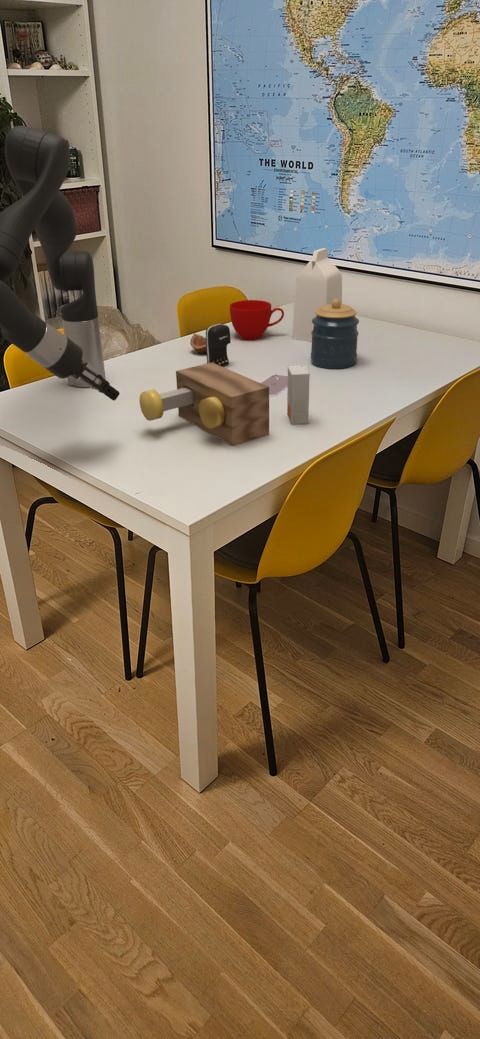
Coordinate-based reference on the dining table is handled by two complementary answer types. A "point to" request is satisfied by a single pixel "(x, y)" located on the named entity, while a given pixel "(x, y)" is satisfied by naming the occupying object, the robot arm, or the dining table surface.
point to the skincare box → (298, 394)
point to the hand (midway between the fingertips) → (115, 396)
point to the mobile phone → (276, 384)
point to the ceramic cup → (252, 318)
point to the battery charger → (217, 344)
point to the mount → (225, 403)
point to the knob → (164, 401)
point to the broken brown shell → (198, 343)
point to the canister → (334, 336)
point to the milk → (314, 292)
